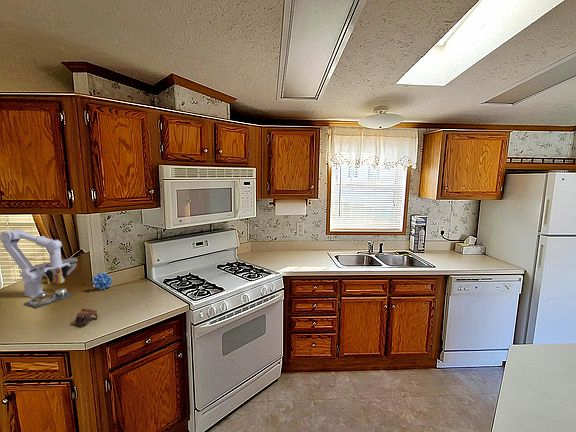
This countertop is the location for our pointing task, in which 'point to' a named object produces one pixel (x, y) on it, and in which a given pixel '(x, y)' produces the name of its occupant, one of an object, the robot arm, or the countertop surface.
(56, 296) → the gear carrier
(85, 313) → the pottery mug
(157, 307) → the countertop surface
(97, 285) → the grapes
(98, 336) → the countertop surface
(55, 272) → the candy box
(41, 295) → the planet gear
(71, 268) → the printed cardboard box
